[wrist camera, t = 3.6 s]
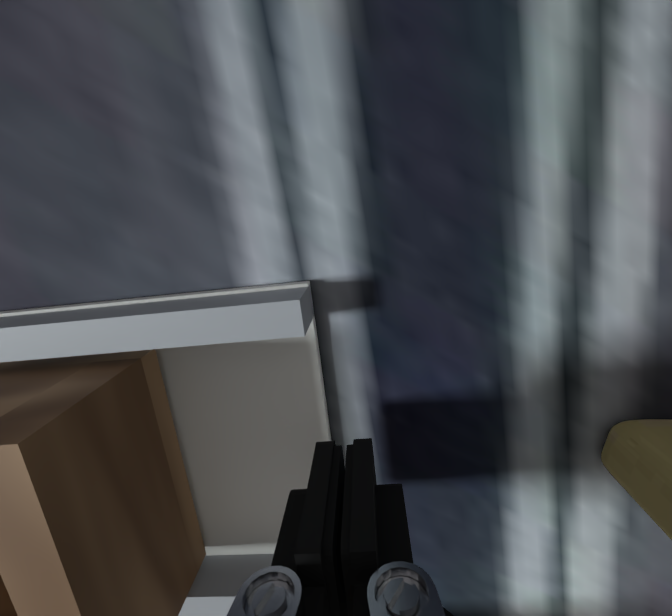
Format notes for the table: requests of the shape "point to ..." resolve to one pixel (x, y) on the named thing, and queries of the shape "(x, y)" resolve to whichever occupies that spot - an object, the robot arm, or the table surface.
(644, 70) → the table surface
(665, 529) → the cheese
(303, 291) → the track
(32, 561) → the brown wooden open box
